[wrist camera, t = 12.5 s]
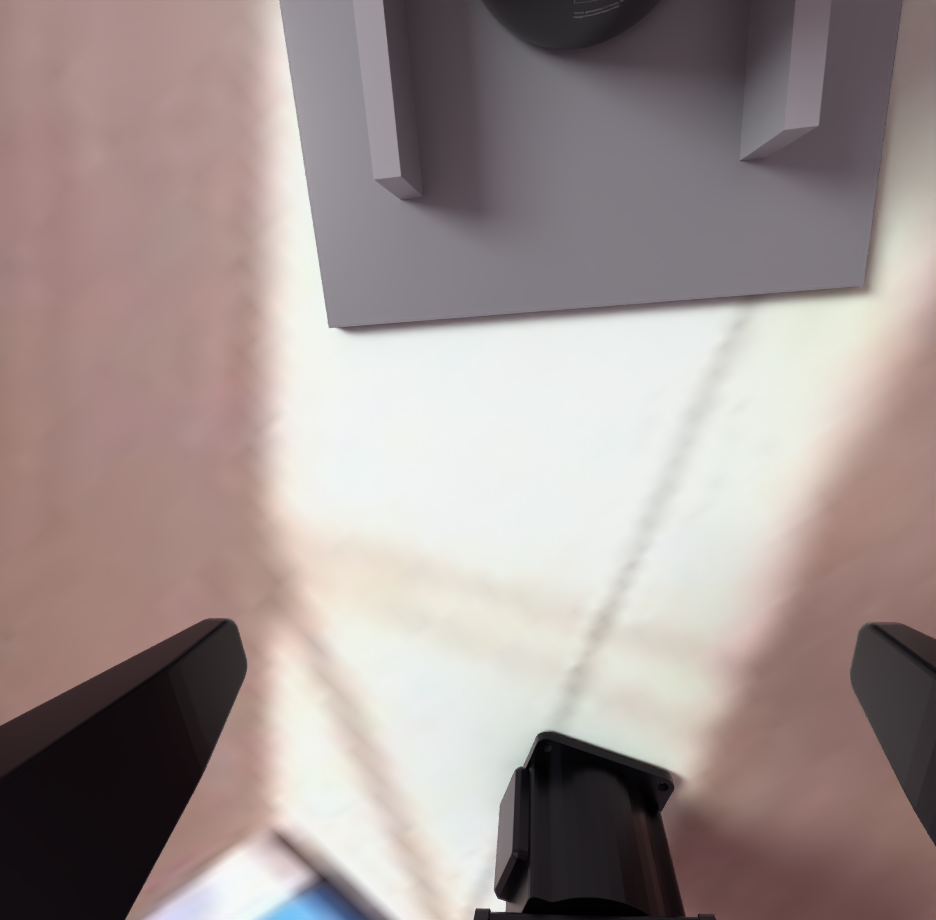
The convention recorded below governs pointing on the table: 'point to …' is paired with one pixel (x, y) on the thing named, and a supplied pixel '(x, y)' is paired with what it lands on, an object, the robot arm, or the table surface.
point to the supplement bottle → (568, 20)
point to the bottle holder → (587, 154)
